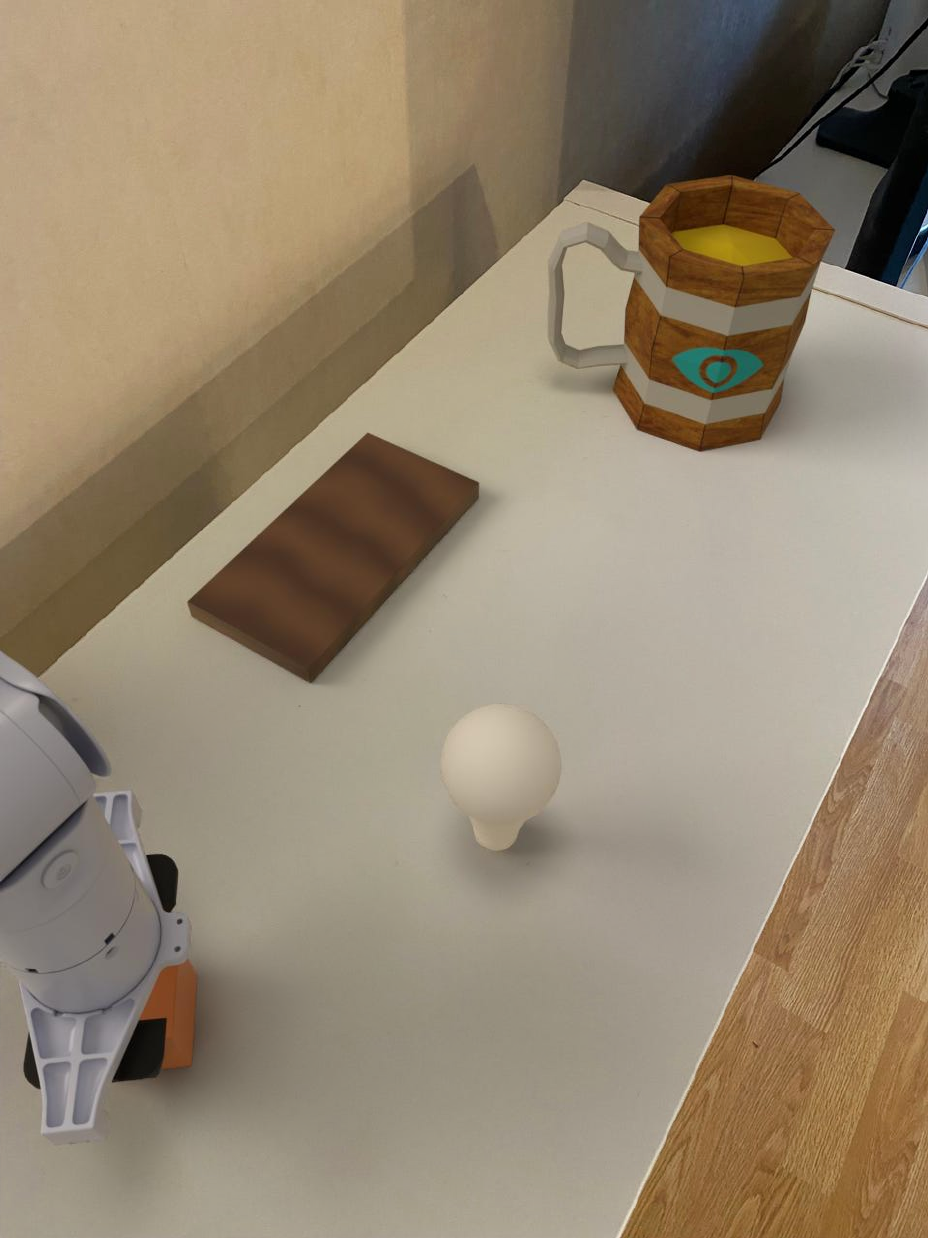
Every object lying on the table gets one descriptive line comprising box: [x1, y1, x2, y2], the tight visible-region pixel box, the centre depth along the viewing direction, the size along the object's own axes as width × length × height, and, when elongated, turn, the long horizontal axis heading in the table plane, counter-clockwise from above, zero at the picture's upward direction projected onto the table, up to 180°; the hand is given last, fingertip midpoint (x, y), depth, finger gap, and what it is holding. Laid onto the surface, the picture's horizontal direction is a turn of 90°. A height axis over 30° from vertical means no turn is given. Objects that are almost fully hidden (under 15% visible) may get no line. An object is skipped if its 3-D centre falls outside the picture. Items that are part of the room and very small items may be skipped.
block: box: [139, 958, 198, 1070], centre depth 49 cm, size 4×4×4 cm
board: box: [186, 432, 480, 684], centre depth 70 cm, size 20×10×2 cm, turn 147°
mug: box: [547, 174, 836, 452], centre depth 77 cm, size 20×14×15 cm
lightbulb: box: [440, 703, 563, 852], centre depth 53 cm, size 6×6×11 cm
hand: (142, 1015), depth 50 cm, fingers open, 5 cm apart
